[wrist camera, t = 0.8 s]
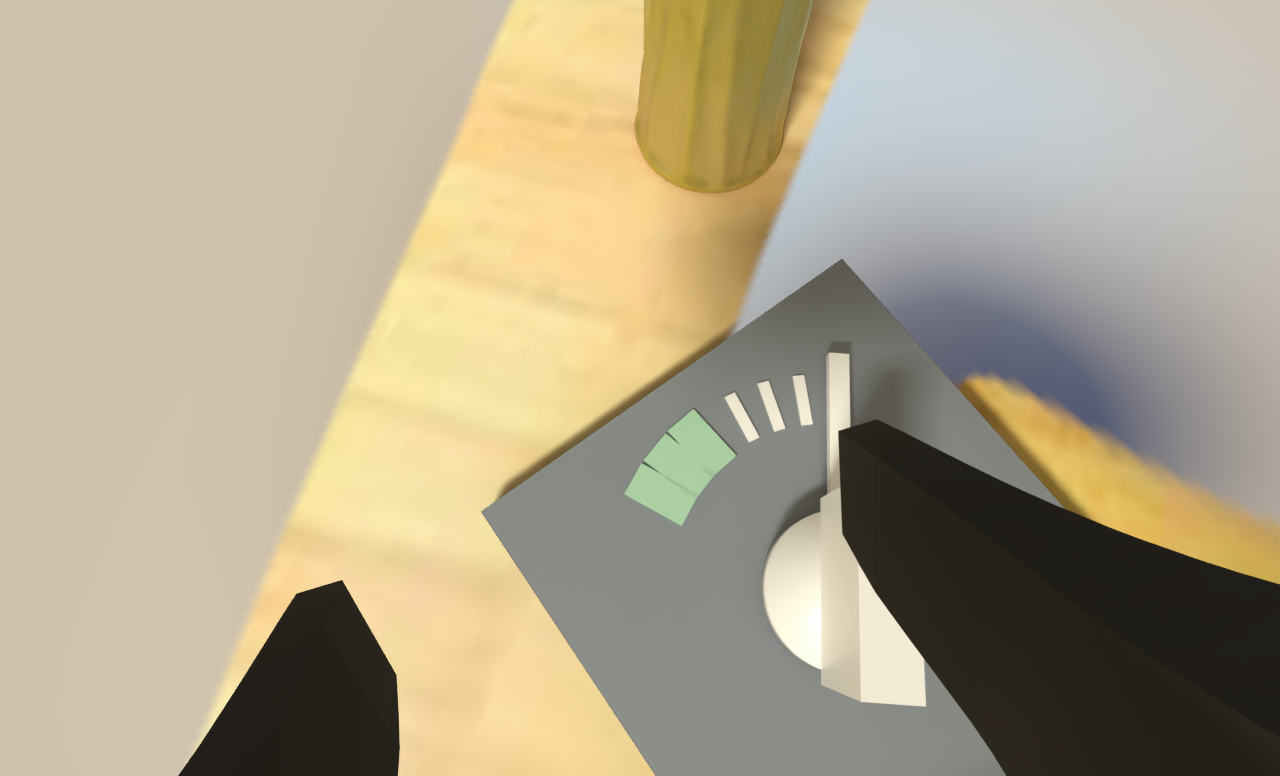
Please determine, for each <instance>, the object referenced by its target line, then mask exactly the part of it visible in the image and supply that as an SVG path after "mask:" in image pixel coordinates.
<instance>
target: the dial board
mask: <svg viewBox="0 0 1280 776" xmlns="http://www.w3.org/2000/svg"><path fill="white" fill-rule="evenodd" d="M828 353H842V354H849V374H850V427H853V426H856V425H859V424H863V423H866V422H869V421H873V420H876V419H877V420H880V421H882V422H884V423H886V424H888V425H890V426H892V427H894V428H896V429H899V430H901V431H903V432H905V433H907V434H909V435H911V436H913V437H915V438H917V439H918V440H920V441H922V442H924V443H926V444H928V445H930V446H932V447H934V448H936V449H938V450H940V451H942V452H944V453H946V454H948V455H950V456H952V457H954V458H956V459H958V460H960V461H962V462H964V463H966V464H968V465H970V466H972V467H974V468H977V469H979V470H981V471H983V472H985V473H987V474H989V475H991V476H993V477H995V478H997V479H999V480H1001V481H1004V482H1006V483H1008V484H1010V485H1012V486H1014V487H1016V488H1019V489H1021V490H1023V491H1025V492H1027V493H1029V494H1032V495H1034V496H1036V497H1038V498H1041V499H1043V500H1045V501H1047V502H1050V503H1052V504H1054V505H1056V506H1059V507H1061V508H1064V507H1063V506H1062V505H1061V504H1060V503H1059V502H1058V500H1057V499H1056V498H1055V497H1054V496H1053V495H1052V494H1051V493H1050V491H1049V490H1048V489H1047V488H1046V487H1045V486H1044V485H1043V484H1042V482H1041V481H1040V480H1039V479H1038V478H1037V477H1036V476H1035V475H1034V474H1033V472H1032V471H1031V470H1030V469H1029V468H1028V467H1027V466H1026V465H1025V463H1024V462H1023V461H1022V460H1021V459H1020V458H1019V457H1018V456H1017V454H1016V453H1015V452H1014V451H1013V450H1012V449H1011V448H1010V447H1009V446H1008V444H1007V443H1006V442H1005V441H1004V440H1003V439H1002V438H1001V437H1000V435H999V434H998V433H997V432H996V431H995V430H994V429H993V428H992V426H991V425H990V424H989V423H988V422H987V421H986V420H985V419H984V417H983V416H982V415H981V414H980V413H979V412H978V411H977V410H976V409H975V407H974V406H973V405H972V404H971V403H970V402H969V401H968V400H967V398H966V397H965V396H964V395H963V394H962V393H961V392H960V391H959V389H958V388H957V387H956V386H955V385H954V384H953V383H952V382H951V380H949V378H948V377H947V376H946V375H945V374H944V373H943V372H942V370H941V369H940V368H939V367H938V366H937V365H936V364H935V363H934V362H933V360H932V359H931V358H930V357H929V356H928V355H927V354H926V353H925V351H924V350H923V349H922V348H921V347H920V346H919V345H918V344H917V342H916V341H915V340H914V339H913V338H912V337H911V336H910V335H909V334H908V332H907V331H906V330H905V329H904V328H903V327H902V326H901V324H900V323H899V322H898V321H897V320H896V319H895V318H894V317H893V316H892V314H891V313H890V312H889V311H888V310H887V309H886V308H885V307H884V305H883V304H882V303H881V302H880V301H879V300H878V299H877V298H876V297H875V295H874V294H873V293H872V292H871V291H870V290H869V289H868V287H867V286H866V285H865V284H864V283H863V282H862V281H861V280H860V279H859V277H858V276H857V275H856V274H855V273H854V272H853V271H852V270H851V268H850V267H849V266H848V265H847V264H846V263H845V262H844V261H843V259H841V260H840V261H838V262H837V263H835V264H834V265H833V266H831V267H830V268H828V269H827V270H826V271H824V272H823V273H821V274H820V275H818V276H817V277H815V278H814V279H813V280H811V281H810V282H808V283H807V284H805V285H804V286H803V287H801V288H800V289H798V290H797V291H795V292H794V293H793V294H791V295H790V296H788V297H787V298H785V299H784V300H783V301H781V302H780V303H778V304H777V305H775V306H774V307H773V308H771V309H770V310H768V311H767V312H765V313H764V314H763V315H761V316H760V317H758V318H757V319H755V320H754V321H753V322H751V323H750V324H748V325H747V326H745V327H744V328H743V329H741V330H740V331H738V332H737V333H735V334H734V335H733V336H731V337H730V338H728V339H727V340H725V341H724V342H723V343H721V344H720V345H718V346H717V347H715V348H714V349H713V350H711V351H710V352H708V353H707V354H705V355H704V356H703V357H701V358H700V359H698V360H697V361H695V362H694V363H693V364H691V365H690V366H688V367H687V368H685V369H684V370H683V371H681V372H680V373H678V374H677V375H675V376H674V377H673V378H671V379H670V380H668V381H667V382H665V383H664V384H663V385H661V386H660V387H658V388H657V389H655V390H654V391H653V392H651V393H650V394H648V395H647V396H645V397H644V398H643V399H641V400H640V401H638V402H637V403H635V404H634V405H633V406H631V407H630V408H628V409H627V410H625V411H624V412H623V413H621V414H620V415H618V416H617V417H615V418H614V419H613V420H611V421H610V422H608V423H607V424H605V425H604V426H603V427H601V428H600V429H598V430H597V431H595V432H594V433H593V434H591V435H590V436H588V437H587V438H585V439H584V440H583V441H581V442H580V443H578V444H577V445H575V446H574V447H573V448H571V449H570V450H568V451H567V452H565V453H564V454H563V455H561V456H560V457H558V458H557V459H555V460H554V461H553V462H551V463H550V464H548V465H547V466H545V467H544V468H543V469H541V470H540V471H538V472H537V473H535V474H534V475H533V476H531V477H530V478H528V479H527V480H525V481H524V482H523V483H521V484H520V485H518V486H517V487H515V488H514V489H513V490H511V491H510V492H508V493H507V494H505V495H504V496H503V497H501V498H500V499H498V500H497V501H496V502H494V503H493V504H491V505H490V506H488V507H487V508H486V509H484V510H483V511H481V512H482V514H483V515H484V517H485V518H486V520H487V521H488V523H489V525H490V526H491V528H492V529H493V531H494V532H495V534H496V535H497V537H498V538H499V540H500V541H501V543H502V544H503V546H504V547H505V549H506V550H507V552H508V553H509V555H510V556H511V558H512V559H513V561H514V562H515V564H516V565H517V567H518V568H519V570H520V571H521V573H522V574H523V576H524V577H525V579H526V580H527V582H528V584H529V585H530V587H531V588H532V590H533V591H534V593H535V594H536V596H537V597H538V599H539V600H540V602H541V603H542V605H543V606H544V608H545V609H546V611H547V612H548V614H549V615H550V617H551V618H552V620H553V621H554V623H555V624H556V626H557V627H558V629H559V630H560V632H561V633H562V635H563V636H564V638H565V639H566V641H567V643H568V644H569V646H570V647H571V649H572V650H573V652H574V653H575V655H576V656H577V658H578V659H579V661H580V662H581V664H582V665H583V667H584V668H585V670H586V671H587V673H588V674H589V676H590V677H591V679H592V680H593V682H594V683H595V685H596V686H597V688H598V689H599V691H600V692H601V694H602V695H603V697H604V698H605V700H606V702H607V703H608V705H609V706H610V708H611V709H612V711H613V712H614V714H615V715H616V717H617V718H618V720H619V721H620V723H621V724H622V726H623V727H624V729H625V730H626V732H627V733H628V735H629V736H630V738H631V739H632V741H633V742H634V744H635V745H636V747H637V748H638V750H639V751H640V753H641V754H642V756H643V758H644V759H645V761H646V762H647V764H648V765H649V767H650V768H651V770H652V771H653V773H654V774H655V776H1006V775H1005V773H1004V772H1003V770H1002V768H1001V767H1000V765H999V763H998V762H997V760H996V758H995V757H994V755H993V754H992V752H991V751H990V749H989V748H988V746H987V745H986V743H985V742H984V740H983V739H982V738H981V736H980V735H979V733H978V732H977V730H976V729H975V727H974V726H973V724H972V723H971V722H970V720H969V719H968V717H967V716H966V715H965V713H964V712H963V711H962V709H961V708H960V707H959V705H958V704H957V703H956V701H955V700H954V699H953V697H952V696H951V695H950V693H949V692H948V691H947V689H946V688H945V687H944V685H943V684H942V682H941V681H940V680H939V678H938V677H937V676H936V674H935V673H934V672H933V670H932V669H931V668H930V666H929V665H928V664H927V662H926V661H925V660H924V672H925V695H926V707H924V706H910V705H896V704H883V703H869V702H860V701H858V700H855V699H853V698H851V697H848V696H846V695H844V694H841V693H839V692H837V691H834V690H832V689H830V688H827V687H825V686H823V685H821V669H818V668H816V667H813V666H811V665H809V664H807V663H805V662H803V661H802V660H800V659H799V658H797V657H796V656H795V655H793V654H792V653H791V652H790V651H789V650H788V649H787V648H786V647H785V646H784V645H783V644H782V643H781V641H780V640H779V639H778V638H777V636H776V635H775V633H774V631H773V630H772V628H771V626H770V624H769V622H768V620H767V617H766V614H765V611H764V608H763V603H762V597H761V576H762V571H763V566H764V563H765V560H766V557H767V555H768V553H769V551H770V549H771V547H772V545H773V544H774V543H775V541H776V540H777V538H778V537H779V536H780V535H781V534H782V533H783V532H784V531H785V530H786V529H788V528H789V527H790V526H791V525H793V524H795V523H796V522H798V521H800V520H802V519H804V518H806V517H808V516H810V515H812V514H815V513H818V512H820V498H822V497H823V496H825V495H827V396H826V356H827V355H828ZM1064 509H1065V508H1064Z"/></svg>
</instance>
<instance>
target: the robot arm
mask: <svg viewBox="0 0 1280 776" xmlns="http://www.w3.org/2000/svg"><path fill="white" fill-rule="evenodd" d="M838 441H839V467H840V492H841V517H842V534H843V536H844V538H845V540H846V541H847V543H848V545H849V547H850V549H851V551H852V552H853V554H854V556H855V558H856V560H857V562H858V563H859V565H860V567H861V569H862V570H863V572H864V574H865V576H866V577H867V579H868V581H869V583H870V584H871V586H872V588H873V589H874V591H875V593H876V594H877V596H878V597H879V598H880V600H881V601H882V603H883V604H884V605H885V607H886V608H887V609H888V611H889V612H890V614H891V615H892V616H893V618H894V619H895V620H896V622H897V623H898V624H899V626H900V627H901V629H902V630H903V631H904V633H905V634H906V635H907V637H908V638H909V639H910V641H911V642H912V643H913V645H914V646H915V648H916V649H917V650H918V652H919V653H920V654H921V656H922V657H923V658H924V660H925V661H926V662H927V664H928V665H929V666H930V668H931V669H932V670H933V672H934V673H935V674H936V676H937V677H938V678H939V680H940V681H941V682H942V684H943V685H944V687H945V688H946V689H947V691H948V692H949V693H950V695H951V696H952V697H953V699H954V700H955V701H956V703H957V704H958V705H959V707H960V708H961V709H962V711H963V712H964V713H965V715H966V716H967V717H968V719H969V720H970V722H971V723H972V724H973V726H974V727H975V729H976V730H977V732H978V733H979V735H980V736H981V738H982V739H983V740H984V742H985V743H986V745H987V746H988V748H989V749H990V751H991V752H992V754H993V755H994V757H995V758H996V760H997V762H998V763H999V765H1000V767H1001V768H1002V770H1003V772H1004V773H1005V775H1006V776H1280V584H1276V583H1273V582H1269V581H1266V580H1262V579H1259V578H1255V577H1252V576H1248V575H1245V574H1242V573H1238V572H1235V571H1232V570H1229V569H1226V568H1223V567H1220V566H1216V565H1213V564H1210V563H1207V562H1204V561H1201V560H1198V559H1195V558H1192V557H1189V556H1187V555H1184V554H1181V553H1178V552H1175V551H1172V550H1169V549H1167V548H1164V547H1161V546H1158V545H1155V544H1152V543H1150V542H1147V541H1144V540H1141V539H1138V538H1135V537H1133V536H1130V535H1128V534H1125V533H1122V532H1120V531H1117V530H1115V529H1112V528H1109V527H1107V526H1104V525H1102V524H1100V523H1097V522H1095V521H1092V520H1090V519H1088V518H1085V517H1083V516H1080V515H1078V514H1076V513H1073V512H1071V511H1068V510H1066V509H1064V508H1061V507H1059V506H1056V505H1054V504H1052V503H1050V502H1047V501H1045V500H1043V499H1041V498H1038V497H1036V496H1034V495H1032V494H1029V493H1027V492H1025V491H1023V490H1021V489H1019V488H1016V487H1014V486H1012V485H1010V484H1008V483H1006V482H1004V481H1001V480H999V479H997V478H995V477H993V476H991V475H989V474H987V473H985V472H983V471H981V470H979V469H977V468H974V467H972V466H970V465H968V464H966V463H964V462H962V461H960V460H958V459H956V458H954V457H952V456H950V455H948V454H946V453H944V452H942V451H940V450H938V449H936V448H934V447H932V446H930V445H928V444H926V443H924V442H922V441H920V440H918V439H917V438H915V437H913V436H911V435H909V434H907V433H905V432H903V431H901V430H899V429H896V428H894V427H892V426H890V425H888V424H886V423H884V422H882V421H880V420H877V419H876V420H873V421H869V422H866V423H863V424H859V425H856V426H853V427H849V428H846V429H843V430H839V431H838ZM399 750H400V743H399V713H398V695H397V677H396V674H395V672H394V670H393V668H392V667H391V665H390V663H389V661H388V660H387V658H386V656H385V654H384V653H383V651H382V649H381V647H380V646H379V644H378V642H377V640H376V639H375V637H374V635H373V633H372V632H371V630H370V628H369V626H368V625H367V623H366V621H365V619H364V618H363V616H362V614H361V612H360V611H359V609H358V607H357V605H356V604H355V602H354V600H353V598H352V597H351V595H350V593H349V591H348V590H347V588H346V586H345V584H344V583H343V581H342V580H341V581H337V582H334V583H331V584H327V585H324V586H321V587H317V588H314V589H311V590H307V591H304V592H301V593H297V594H296V595H295V597H294V598H293V600H292V601H291V603H290V604H289V606H288V607H287V609H286V611H285V612H284V614H283V615H282V617H281V618H280V620H279V622H278V623H277V625H276V626H275V628H274V630H273V631H272V633H271V634H270V636H269V638H268V639H267V641H266V642H265V644H264V646H263V647H262V649H261V650H260V652H259V654H258V655H257V657H256V658H255V660H254V662H253V663H252V665H251V666H250V668H249V670H248V671H247V673H246V674H245V676H244V678H243V679H242V681H241V682H240V684H239V685H238V687H237V689H236V690H235V692H234V693H233V695H232V696H231V698H230V699H229V701H228V702H227V704H226V706H225V707H224V709H223V710H222V712H221V713H220V715H219V716H218V718H217V719H216V721H215V723H214V724H213V726H212V727H211V729H210V730H209V732H208V733H207V735H206V736H205V738H204V739H203V741H202V743H201V744H200V746H199V747H198V748H197V750H196V751H195V753H194V754H193V756H192V757H191V758H190V760H189V761H188V763H187V764H186V766H185V767H184V768H183V770H182V771H181V773H180V774H179V776H398V765H399Z"/></svg>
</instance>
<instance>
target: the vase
mask: <svg viewBox="0 0 1280 776" xmlns="http://www.w3.org/2000/svg"><path fill="white" fill-rule="evenodd" d="M813 3H814V0H644V55H643V62H642V69H641V78H640V90H639V100H638V112H637V115H636V118H635V123H634V125H635V134H636V139H637V142H638V145H639V148H640V150H641V152H642V154H643V156H644V158H645V160H646V161H647V163H648V164H649V165H650V167H651V168H652V169H653V170H654V171H655V172H656V173H657V174H658V175H660V176H661V177H662V178H664V179H665V180H667V181H668V182H670V183H672V184H674V185H676V186H678V187H680V188H683V189H686V190H691V191H696V192H704V193H722V192H727V191H732V190H735V189H738V188H741V187H743V186H745V185H747V184H749V183H751V182H753V181H755V180H756V179H758V178H759V177H760V176H761V175H763V174H764V173H765V172H766V171H767V169H768V168H769V167H770V166H771V165H772V163H773V162H774V160H775V158H776V156H777V154H778V153H779V150H780V147H781V143H782V139H783V124H784V121H785V117H786V113H787V109H788V104H789V99H790V94H791V90H792V85H793V80H794V75H795V71H796V66H797V62H798V58H799V54H800V50H801V46H802V42H803V39H804V36H805V32H806V29H807V25H808V22H809V18H810V14H811V10H812V7H813Z"/></svg>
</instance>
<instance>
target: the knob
mask: <svg viewBox="0 0 1280 776" xmlns="http://www.w3.org/2000/svg"><path fill="white" fill-rule="evenodd" d="M826 396H827V495H825V496H823V497H822V498H820V512H818V513H815V514H812V515H810V516H808V517H806V518H804V519H802V520H800V521H798V522H796V523H795V524H793V525H791V526H790V527H789V528H788V529H786V530H785V531H784V532H783V533H782V534H781V535H780V536H779V537H778V538H777V540H776V541H775V543H774V544H773V545H772V547H771V549H770V551H769V553H768V555H767V557H766V560H765V563H764V566H763V571H762V576H761V597H762V603H763V608H764V611H765V614H766V617H767V620H768V622H769V624H770V626H771V628H772V630H773V631H774V633H775V635H776V636H777V638H778V639H779V640H780V641H781V643H782V644H783V645H784V646H785V647H786V648H787V649H788V650H789V651H790V652H791V653H792V654H793V655H795V656H796V657H797V658H799V659H800V660H802V661H803V662H805V663H807V664H809V665H811V666H813V667H816V668H818V669H821V685H823V686H825V687H827V688H830V689H832V690H834V691H837V692H839V693H841V694H844V695H846V696H848V697H851V698H853V699H855V700H858V701H860V702H869V703H883V704H896V705H910V706H924V707H926V695H925V672H924V658H923V657H922V656H921V654H920V653H919V652H918V650H917V649H916V648H915V646H914V645H913V643H912V642H911V641H910V639H909V638H908V637H907V635H906V634H905V633H904V631H903V630H902V629H901V627H900V626H899V624H898V623H897V622H896V620H895V619H894V618H893V616H892V615H891V614H890V612H889V611H888V609H887V608H886V607H885V605H884V604H883V603H882V601H881V600H880V598H879V597H878V596H877V594H876V593H875V591H874V589H873V588H872V586H871V584H870V583H869V581H868V579H867V577H866V576H865V574H864V572H863V570H862V569H861V567H860V565H859V563H858V562H857V560H856V558H855V556H854V554H853V552H852V551H851V549H850V547H849V545H848V543H847V541H846V540H845V538H844V536H843V534H842V517H841V492H840V467H839V441H838V431H839V430H843V429H846V428H849V427H850V374H849V354H842V353H828V355H827V356H826Z"/></svg>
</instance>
